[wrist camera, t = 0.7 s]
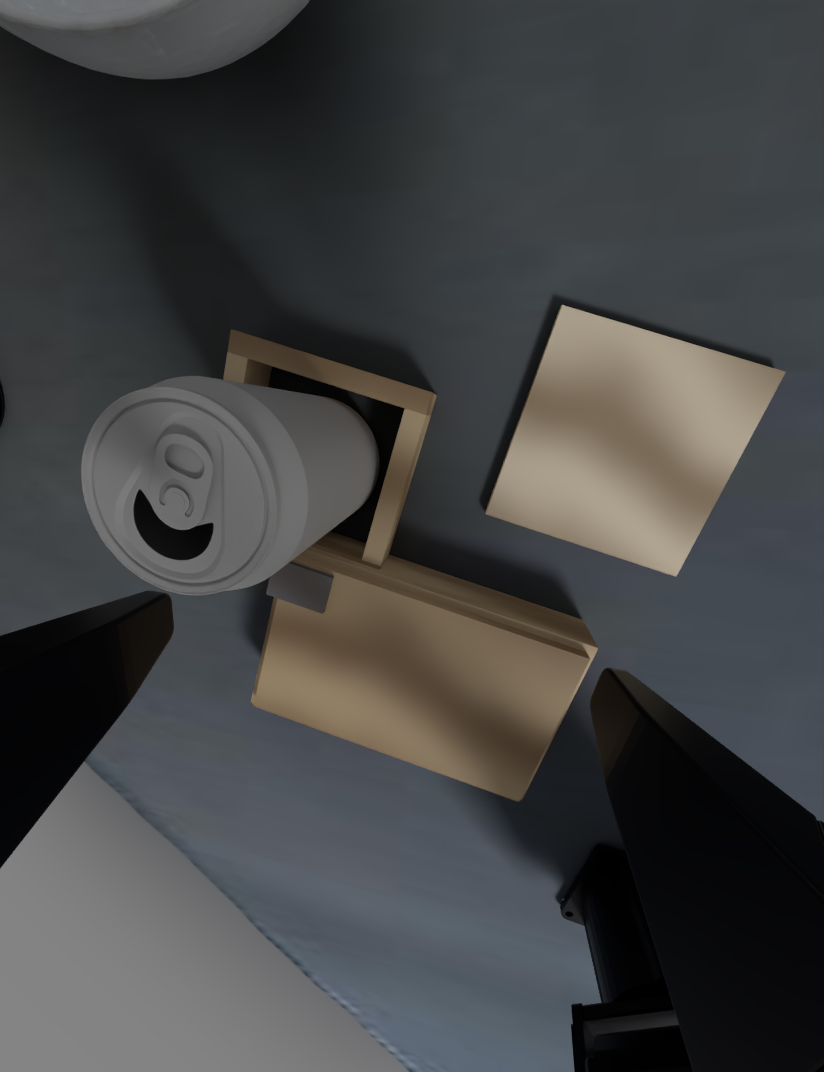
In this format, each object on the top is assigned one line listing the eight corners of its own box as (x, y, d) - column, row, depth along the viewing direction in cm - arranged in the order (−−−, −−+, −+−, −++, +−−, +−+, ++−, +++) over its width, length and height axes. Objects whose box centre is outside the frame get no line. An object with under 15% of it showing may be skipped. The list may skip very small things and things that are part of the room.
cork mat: (670, 572, 22) (676, 576, 21) (484, 511, 22) (485, 514, 22) (776, 373, 19) (785, 371, 18) (559, 308, 19) (562, 304, 19)
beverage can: (254, 488, 24) (48, 552, 12) (290, 375, 22) (85, 326, 10) (357, 535, 24) (247, 645, 12) (402, 427, 22) (322, 435, 10)
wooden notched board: (516, 758, 26) (523, 815, 22) (204, 647, 27) (161, 683, 23) (656, 465, 20) (697, 475, 17) (257, 339, 21) (212, 322, 18)
